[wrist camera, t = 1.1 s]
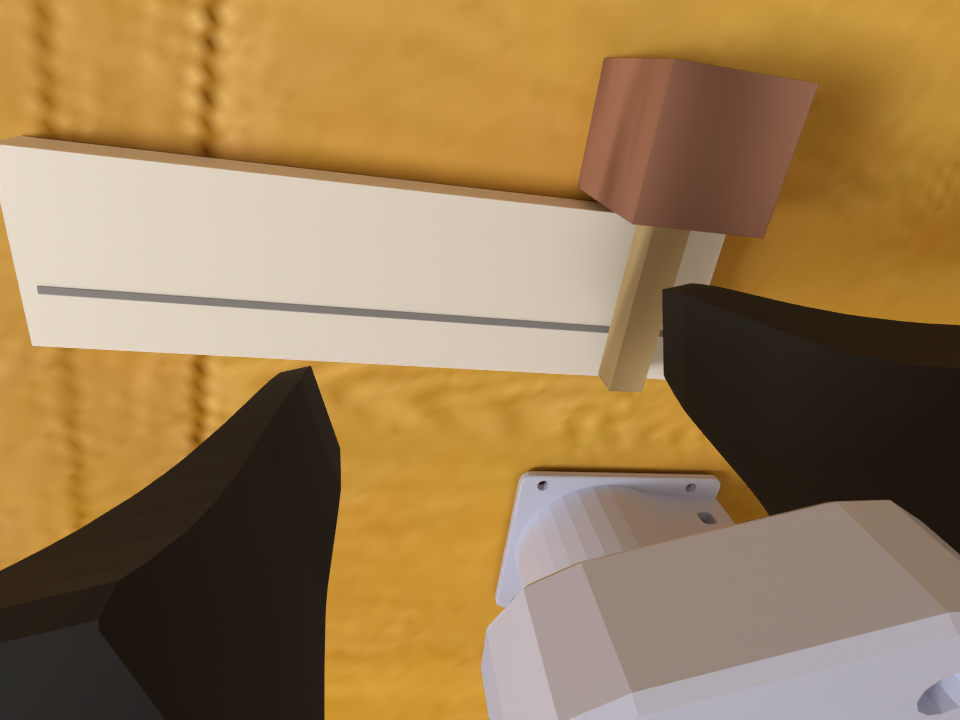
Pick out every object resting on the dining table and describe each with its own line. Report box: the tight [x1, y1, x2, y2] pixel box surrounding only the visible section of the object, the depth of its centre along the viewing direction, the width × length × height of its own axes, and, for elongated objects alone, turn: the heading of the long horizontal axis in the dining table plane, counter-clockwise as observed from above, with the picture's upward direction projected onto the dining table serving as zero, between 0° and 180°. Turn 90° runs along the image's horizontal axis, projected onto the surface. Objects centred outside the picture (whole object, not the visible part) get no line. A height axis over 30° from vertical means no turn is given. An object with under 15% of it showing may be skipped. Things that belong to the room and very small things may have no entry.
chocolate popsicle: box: [577, 58, 819, 392], centre depth 19 cm, size 4×10×5 cm, turn 172°
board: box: [0, 136, 726, 380], centre depth 20 cm, size 22×6×2 cm, turn 82°
